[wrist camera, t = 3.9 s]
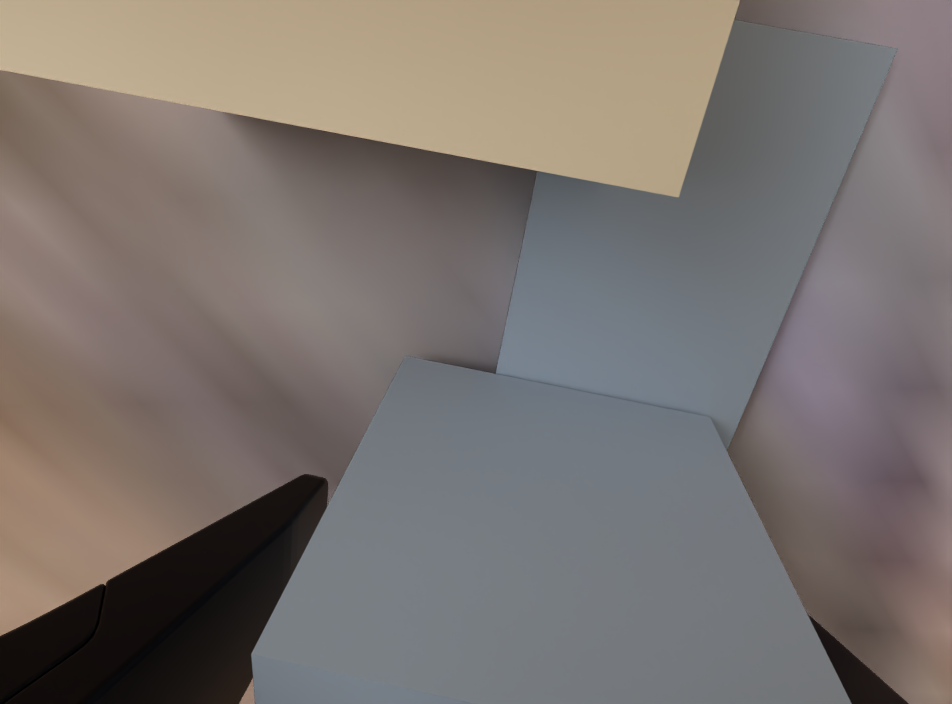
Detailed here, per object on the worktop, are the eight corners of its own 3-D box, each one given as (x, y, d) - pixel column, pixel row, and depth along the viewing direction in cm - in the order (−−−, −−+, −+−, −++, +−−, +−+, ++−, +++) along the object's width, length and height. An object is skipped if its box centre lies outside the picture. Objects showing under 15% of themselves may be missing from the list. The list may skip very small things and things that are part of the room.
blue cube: (619, 613, 11) (671, 988, 6) (382, 562, 11) (270, 893, 6) (710, 417, 8) (898, 797, 4) (404, 355, 8) (252, 653, 4)
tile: (716, 444, 9) (724, 457, 9) (490, 398, 9) (488, 409, 9) (878, 53, 7) (898, 48, 6) (572, 0, 7) (574, -9, 6)
